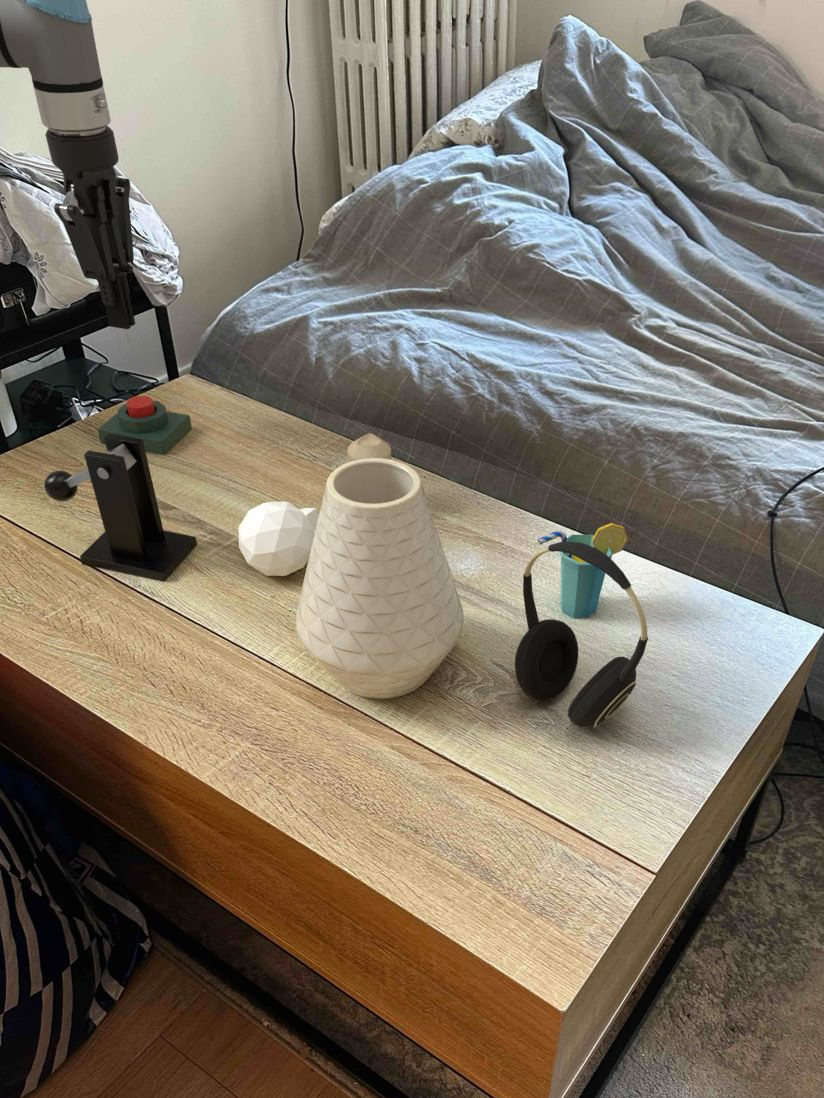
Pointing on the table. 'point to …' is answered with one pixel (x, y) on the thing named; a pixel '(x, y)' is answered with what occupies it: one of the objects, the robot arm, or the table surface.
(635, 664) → the headphones
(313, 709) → the table surface
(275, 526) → the white faceted round piece
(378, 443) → the candle
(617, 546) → the cup
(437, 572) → the vase
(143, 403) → the button
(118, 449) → the lever
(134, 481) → the bracket
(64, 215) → the robot arm
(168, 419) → the button box
